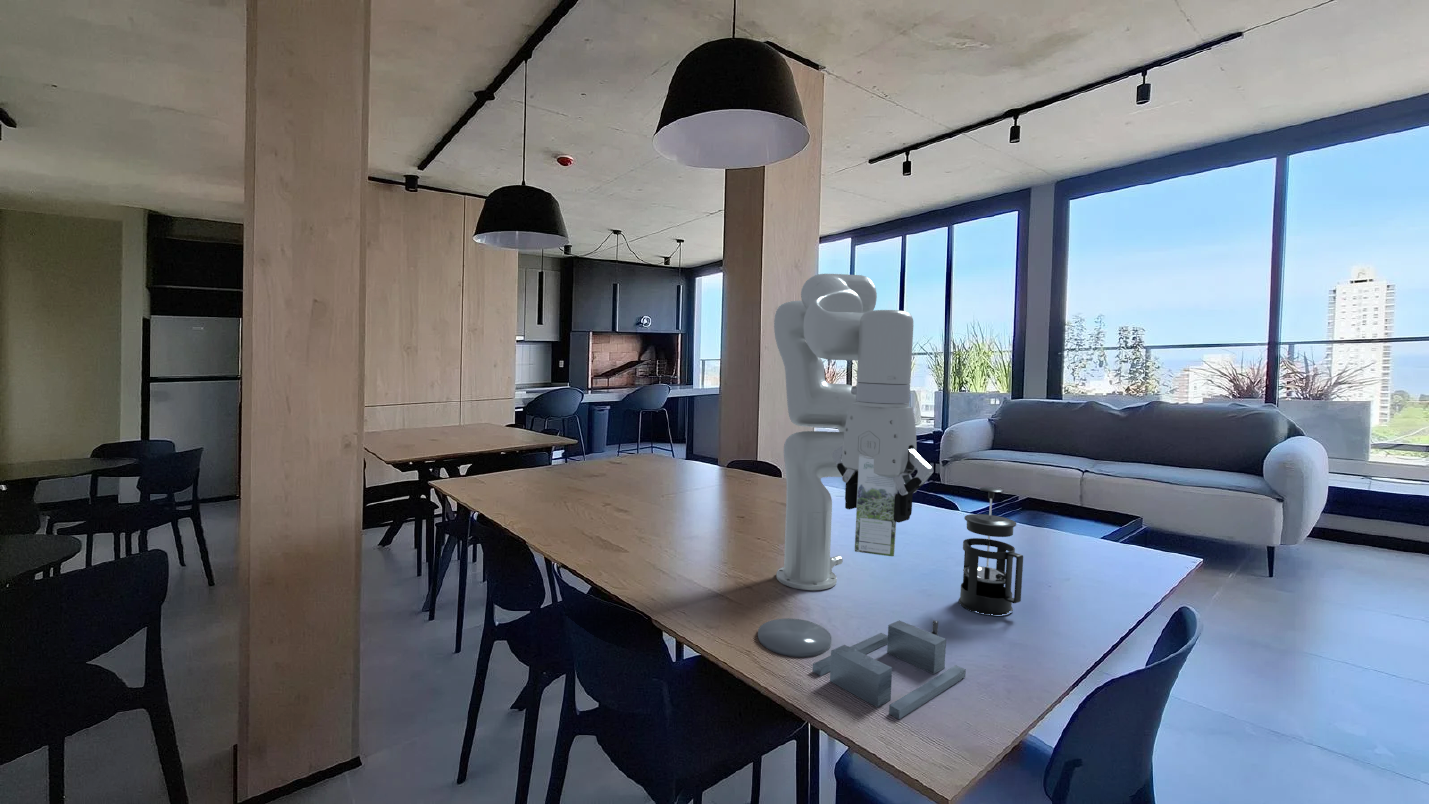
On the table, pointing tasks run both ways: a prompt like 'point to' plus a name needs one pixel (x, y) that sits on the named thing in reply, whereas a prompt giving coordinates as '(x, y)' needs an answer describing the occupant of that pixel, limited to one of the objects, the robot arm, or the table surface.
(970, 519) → the french press
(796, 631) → the coaster
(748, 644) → the table surface
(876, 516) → the syrup box
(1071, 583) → the table surface
